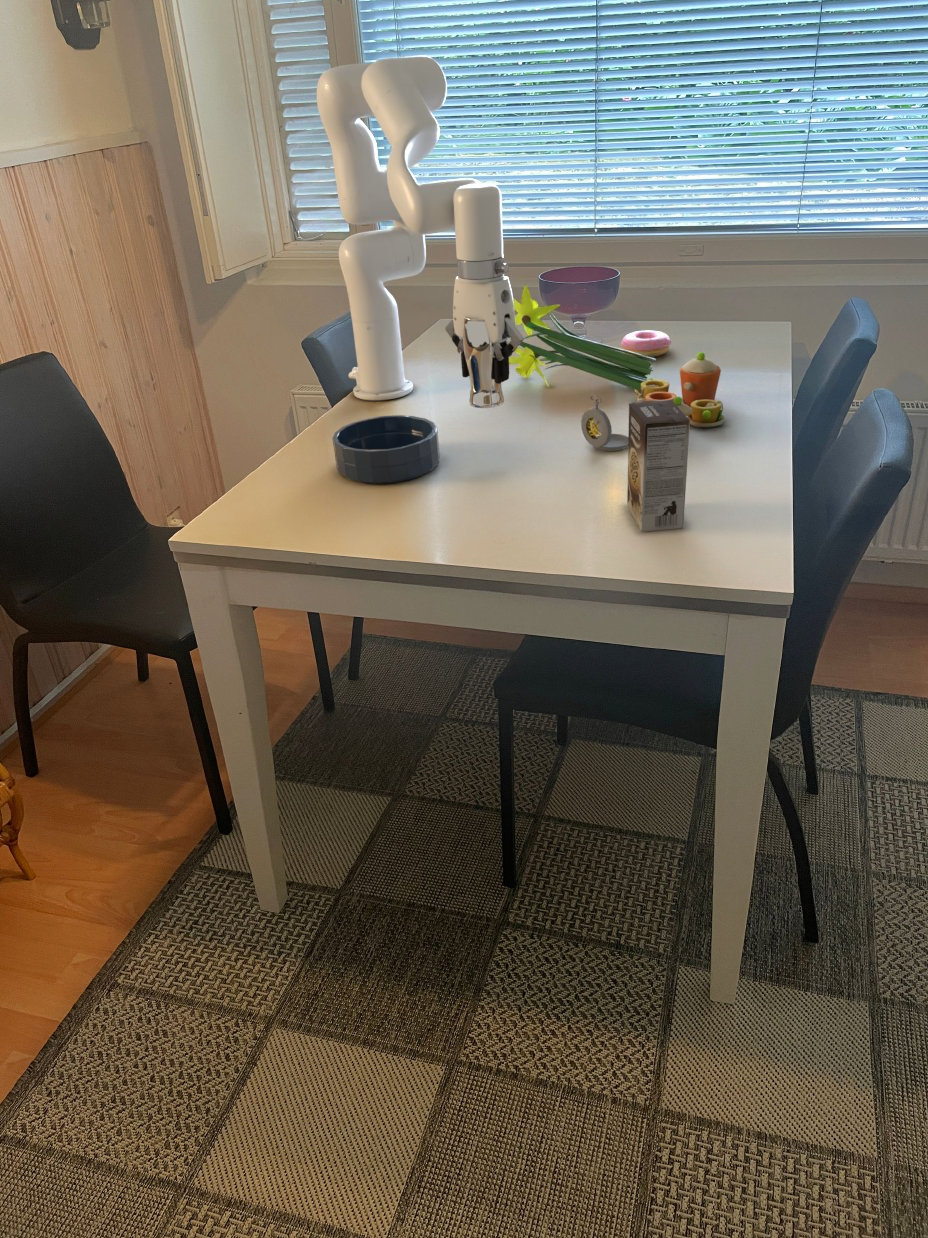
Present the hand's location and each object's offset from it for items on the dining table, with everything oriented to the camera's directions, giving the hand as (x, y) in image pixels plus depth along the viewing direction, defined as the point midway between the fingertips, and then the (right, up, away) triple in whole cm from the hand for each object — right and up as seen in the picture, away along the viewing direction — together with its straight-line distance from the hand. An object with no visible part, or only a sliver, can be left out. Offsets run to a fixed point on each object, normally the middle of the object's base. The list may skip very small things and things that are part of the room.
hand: (485, 377), depth 161 cm
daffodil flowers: (+20, +8, +35) cm, 41 cm away
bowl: (-17, -15, +1) cm, 22 cm away
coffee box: (+24, -27, -24) cm, 43 cm away
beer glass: (0, -4, +2) cm, 5 cm away
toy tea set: (+36, -4, +12) cm, 39 cm away
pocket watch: (+21, -12, +2) cm, 24 cm away
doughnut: (+37, +18, +50) cm, 65 cm away
